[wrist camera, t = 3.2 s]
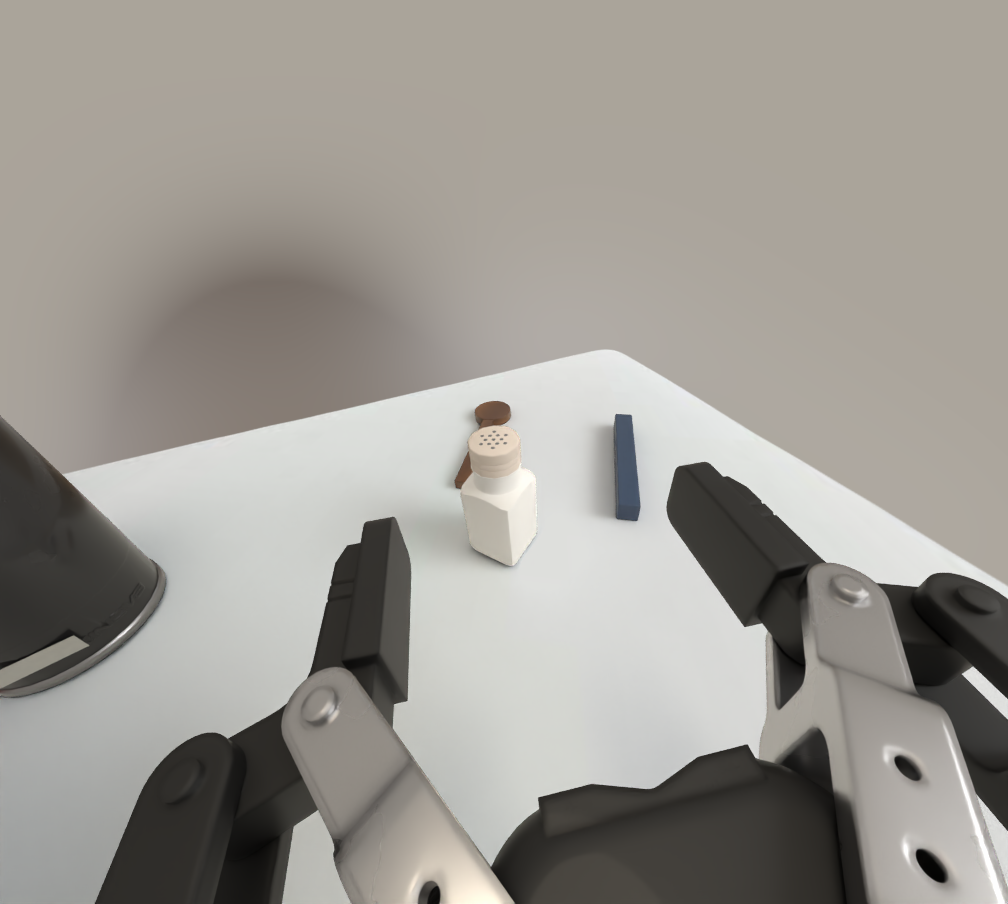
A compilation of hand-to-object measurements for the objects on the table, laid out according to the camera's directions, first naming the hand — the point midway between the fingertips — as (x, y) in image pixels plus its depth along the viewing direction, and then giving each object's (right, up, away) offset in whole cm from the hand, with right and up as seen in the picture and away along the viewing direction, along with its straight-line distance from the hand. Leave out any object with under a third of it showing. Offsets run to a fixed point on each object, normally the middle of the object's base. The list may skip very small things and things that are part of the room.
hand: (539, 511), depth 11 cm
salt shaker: (-1, -5, +18) cm, 19 cm away
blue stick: (+10, 0, +23) cm, 26 cm away
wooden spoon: (-3, +3, +28) cm, 28 cm away
